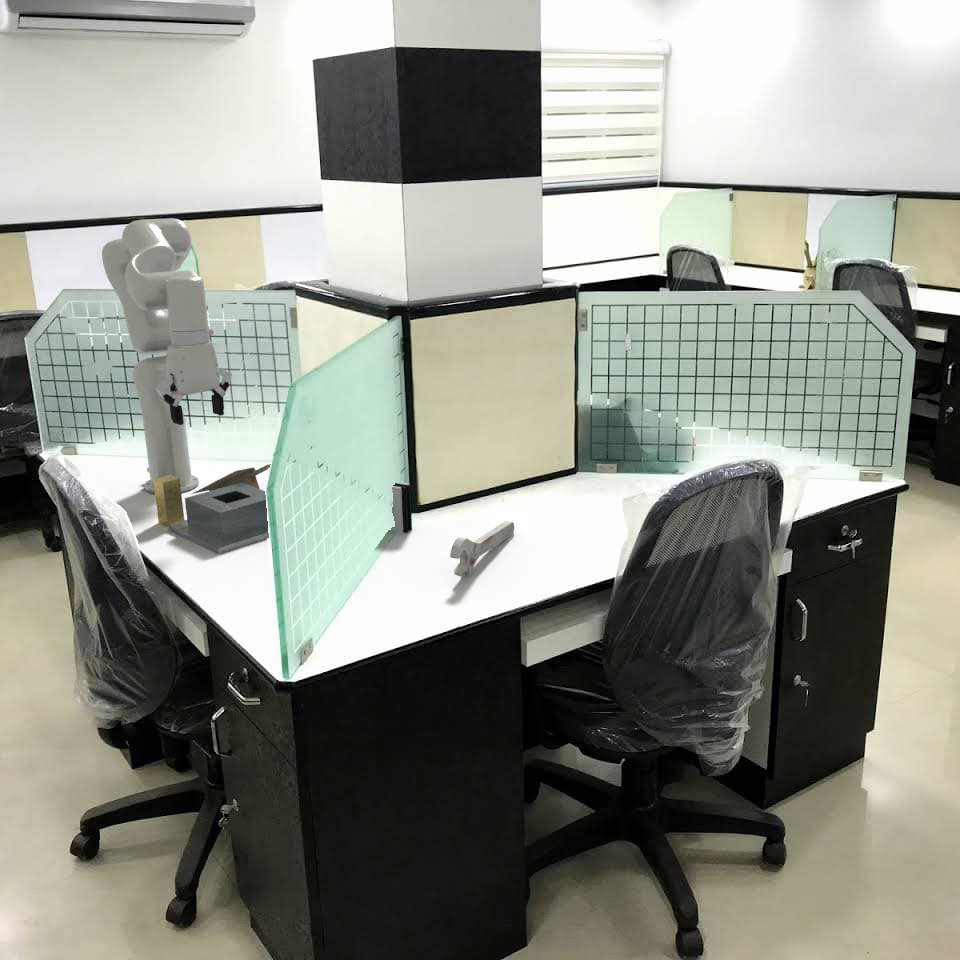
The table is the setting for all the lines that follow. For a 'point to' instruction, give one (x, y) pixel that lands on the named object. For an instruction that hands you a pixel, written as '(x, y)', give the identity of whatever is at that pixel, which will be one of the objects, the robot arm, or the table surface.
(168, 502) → the brass pin
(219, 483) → the beige piece
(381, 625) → the table surface
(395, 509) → the hinge
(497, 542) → the wrench
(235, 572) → the table surface
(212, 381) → the robot arm
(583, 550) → the table surface
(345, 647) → the table surface
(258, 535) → the collar block
